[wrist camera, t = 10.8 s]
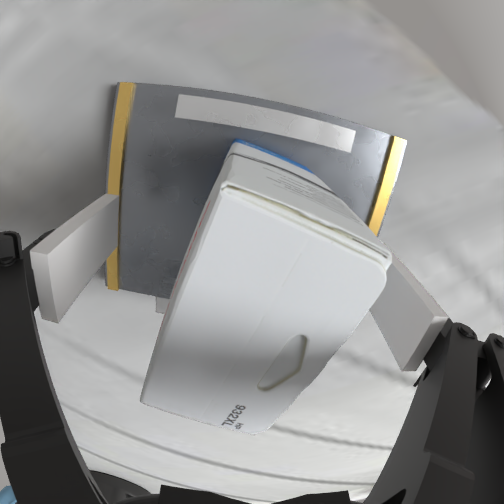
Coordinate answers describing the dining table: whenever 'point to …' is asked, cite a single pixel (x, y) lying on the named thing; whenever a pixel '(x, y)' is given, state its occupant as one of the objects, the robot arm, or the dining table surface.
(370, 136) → the grey tray
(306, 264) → the ink box
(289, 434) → the dining table surface
